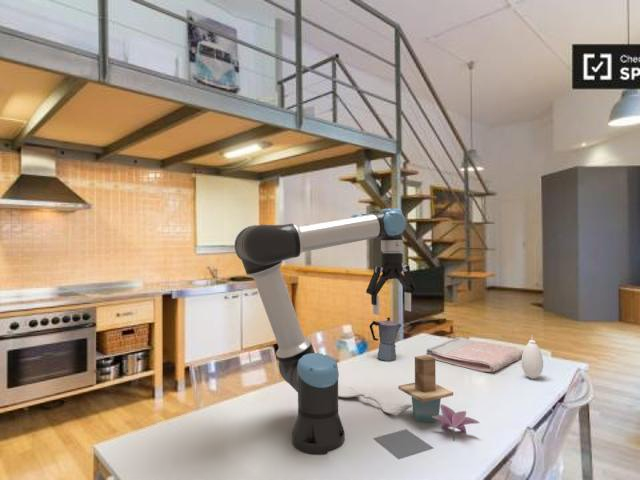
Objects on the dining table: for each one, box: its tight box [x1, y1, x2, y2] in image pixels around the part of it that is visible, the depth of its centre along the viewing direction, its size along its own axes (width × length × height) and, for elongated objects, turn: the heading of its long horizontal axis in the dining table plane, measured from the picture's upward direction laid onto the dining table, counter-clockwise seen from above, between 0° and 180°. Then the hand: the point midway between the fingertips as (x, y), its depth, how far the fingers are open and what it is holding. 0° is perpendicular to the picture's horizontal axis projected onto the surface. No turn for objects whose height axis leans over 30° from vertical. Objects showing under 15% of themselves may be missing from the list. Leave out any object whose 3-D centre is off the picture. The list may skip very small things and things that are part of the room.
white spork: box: [338, 384, 413, 416], centre depth 138 cm, size 9×32×4 cm, turn 45°
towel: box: [425, 336, 524, 373], centre depth 189 cm, size 36×34×6 cm
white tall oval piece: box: [521, 335, 544, 380], centre depth 161 cm, size 8×8×18 cm
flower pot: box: [411, 396, 442, 424], centre depth 125 cm, size 9×9×9 cm
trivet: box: [372, 428, 434, 460], centre depth 110 cm, size 12×12×1 cm
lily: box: [432, 404, 480, 442], centre depth 114 cm, size 12×12×10 cm
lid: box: [397, 354, 454, 403], centre depth 125 cm, size 12×12×11 cm
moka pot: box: [369, 316, 402, 362], centre depth 189 cm, size 10×15×20 cm, turn 89°
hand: (392, 312), depth 139 cm, fingers open, 13 cm apart
